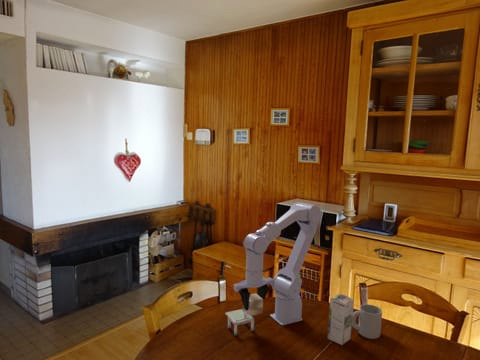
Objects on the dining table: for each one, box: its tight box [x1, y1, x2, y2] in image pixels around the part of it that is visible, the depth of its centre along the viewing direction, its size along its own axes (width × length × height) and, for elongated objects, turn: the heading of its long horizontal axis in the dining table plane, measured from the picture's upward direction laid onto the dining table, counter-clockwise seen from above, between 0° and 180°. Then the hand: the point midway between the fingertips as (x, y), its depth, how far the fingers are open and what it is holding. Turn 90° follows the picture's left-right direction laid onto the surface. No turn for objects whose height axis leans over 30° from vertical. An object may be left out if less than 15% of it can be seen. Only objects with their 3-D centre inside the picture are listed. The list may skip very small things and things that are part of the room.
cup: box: [352, 303, 383, 340], centre depth 121 cm, size 7×10×9 cm
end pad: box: [224, 308, 249, 322], centre depth 131 cm, size 7×7×1 cm
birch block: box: [242, 293, 264, 317], centre depth 120 cm, size 5×5×5 cm
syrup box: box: [326, 293, 355, 346], centre depth 117 cm, size 6×6×14 cm
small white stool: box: [227, 311, 255, 336], centre depth 122 cm, size 8×6×4 cm
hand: (253, 307), depth 120 cm, fingers closed on birch block, 5 cm apart
